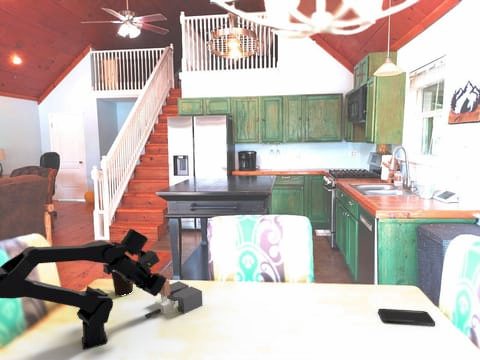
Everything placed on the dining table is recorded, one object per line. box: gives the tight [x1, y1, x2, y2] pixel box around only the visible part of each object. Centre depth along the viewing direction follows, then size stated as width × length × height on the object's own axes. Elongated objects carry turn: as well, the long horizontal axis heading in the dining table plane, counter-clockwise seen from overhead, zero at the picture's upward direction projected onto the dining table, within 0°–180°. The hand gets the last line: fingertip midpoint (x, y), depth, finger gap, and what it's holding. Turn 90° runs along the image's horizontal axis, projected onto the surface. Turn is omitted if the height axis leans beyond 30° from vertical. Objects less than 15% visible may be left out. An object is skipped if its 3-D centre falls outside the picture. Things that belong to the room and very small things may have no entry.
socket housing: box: [160, 281, 204, 315], centre depth 119 cm, size 8×14×5 cm, turn 47°
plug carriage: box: [144, 278, 175, 319], centre depth 111 cm, size 10×5×11 cm, turn 137°
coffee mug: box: [110, 270, 134, 296], centre depth 131 cm, size 12×9×10 cm
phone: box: [377, 308, 436, 327], centre depth 105 cm, size 8×1×15 cm
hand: (160, 290), depth 112 cm, fingers closed
